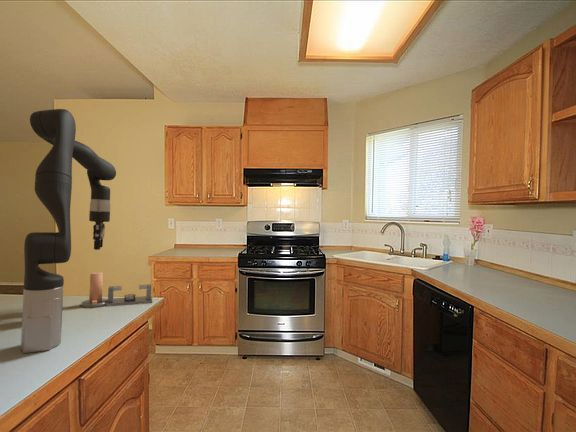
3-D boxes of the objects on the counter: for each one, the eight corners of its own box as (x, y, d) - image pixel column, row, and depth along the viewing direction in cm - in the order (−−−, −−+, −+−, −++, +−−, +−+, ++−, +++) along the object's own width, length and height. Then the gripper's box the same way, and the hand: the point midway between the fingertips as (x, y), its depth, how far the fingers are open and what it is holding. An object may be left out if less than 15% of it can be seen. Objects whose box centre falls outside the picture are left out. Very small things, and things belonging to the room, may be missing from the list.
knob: (87, 305, 126) (88, 275, 126) (90, 299, 135) (92, 271, 135) (100, 304, 128) (101, 274, 128) (102, 298, 137) (104, 270, 137)
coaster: (108, 306, 129) (108, 303, 129) (79, 308, 125) (79, 305, 125) (110, 300, 138) (110, 297, 138) (83, 302, 134) (83, 299, 134)
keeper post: (152, 302, 137) (152, 287, 137) (105, 306, 130) (106, 289, 130) (151, 298, 145) (152, 283, 145) (107, 301, 137) (108, 285, 137)
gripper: (92, 210, 136) (90, 246, 136) (87, 210, 124) (85, 250, 124) (111, 210, 140) (109, 246, 140) (108, 210, 127) (106, 250, 127)
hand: (98, 248), depth 132 cm, fingers open, 8 cm apart
